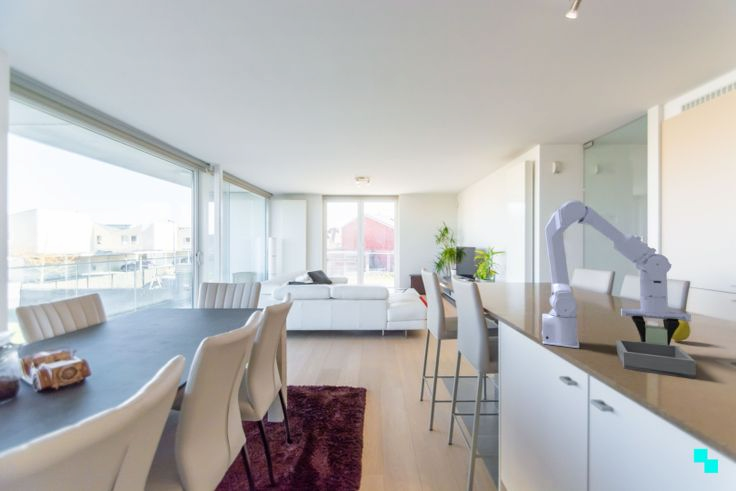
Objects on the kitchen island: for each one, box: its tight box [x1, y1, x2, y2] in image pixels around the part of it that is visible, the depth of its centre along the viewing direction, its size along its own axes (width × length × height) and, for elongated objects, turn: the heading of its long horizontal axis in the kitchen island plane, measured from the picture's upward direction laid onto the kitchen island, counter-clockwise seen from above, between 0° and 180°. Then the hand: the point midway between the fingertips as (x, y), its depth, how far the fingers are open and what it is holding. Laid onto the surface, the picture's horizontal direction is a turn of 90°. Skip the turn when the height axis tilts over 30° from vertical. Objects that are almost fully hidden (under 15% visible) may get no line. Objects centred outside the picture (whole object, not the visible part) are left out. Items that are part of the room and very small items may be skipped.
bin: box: [615, 338, 697, 380], centre depth 80 cm, size 13×13×4 cm
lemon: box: [671, 320, 691, 343], centre depth 98 cm, size 6×6×8 cm
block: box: [645, 324, 668, 345], centre depth 89 cm, size 4×4×7 cm
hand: (654, 344), depth 89 cm, fingers closed on block, 4 cm apart
